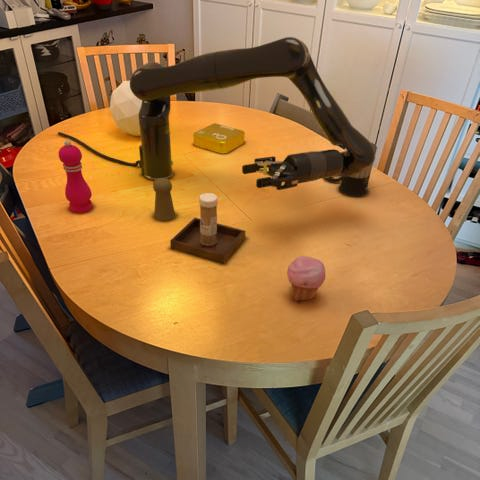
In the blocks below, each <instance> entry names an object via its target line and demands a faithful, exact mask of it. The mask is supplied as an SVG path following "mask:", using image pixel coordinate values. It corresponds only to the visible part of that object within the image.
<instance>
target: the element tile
mask: <svg viewBox="0 0 480 480" xmlns="http://www.w3.org/2000/svg"><path fill="white" fill-rule="evenodd" d="M245 133H246V132H245V131H244V130H242V129H238V128H234V127H231V126H227V125H224V124H220V123H215V122H214V123H211V124H209V125H207V126H205V127H203V128H201V129H198V130H197V131H194V132H193V136H192V137H193V145H194V146H195V147H198V148H200V149H204V150H207V151H211V152H214V153H218V154H222V155H225V154H228V153H230V152H231V151H233V150H235V149H237V148H238V147H240V146H242V145H244V144H245Z"/></svg>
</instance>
